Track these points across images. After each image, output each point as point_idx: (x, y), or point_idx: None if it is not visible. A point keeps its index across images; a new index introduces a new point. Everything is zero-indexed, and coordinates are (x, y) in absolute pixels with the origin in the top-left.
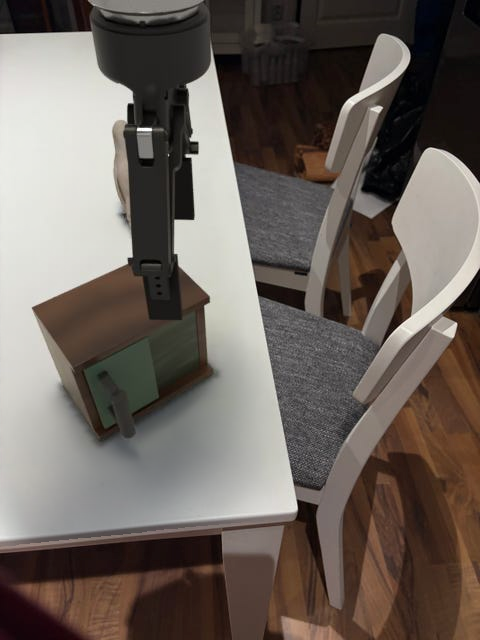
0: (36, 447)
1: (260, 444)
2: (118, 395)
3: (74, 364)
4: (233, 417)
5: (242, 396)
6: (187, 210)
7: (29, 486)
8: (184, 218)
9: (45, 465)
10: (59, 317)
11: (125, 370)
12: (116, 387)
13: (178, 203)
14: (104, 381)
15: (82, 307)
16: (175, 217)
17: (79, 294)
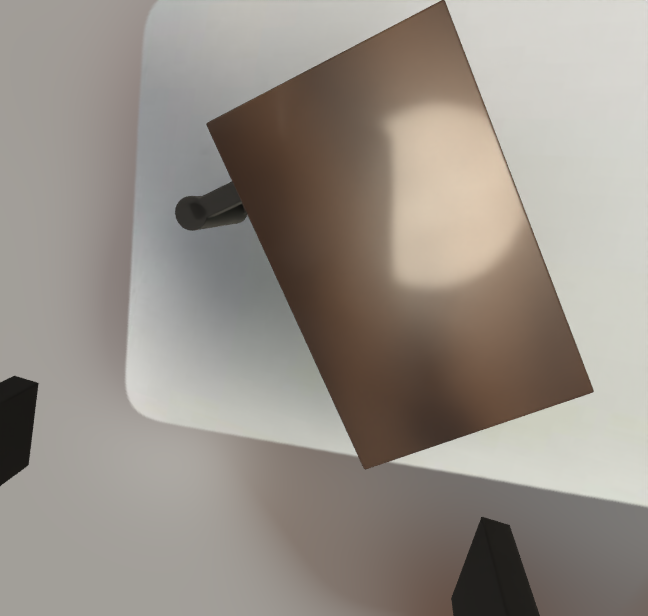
0: (293, 33)
1: (225, 404)
2: (190, 214)
3: (214, 127)
4: (281, 378)
5: (318, 403)
6: (461, 613)
7: (221, 26)
8: (463, 574)
9: (255, 52)
10: (382, 85)
11: None
12: (211, 211)
13: (479, 610)
14: (230, 187)
15: (405, 151)
16: (473, 549)
17: (460, 143)
